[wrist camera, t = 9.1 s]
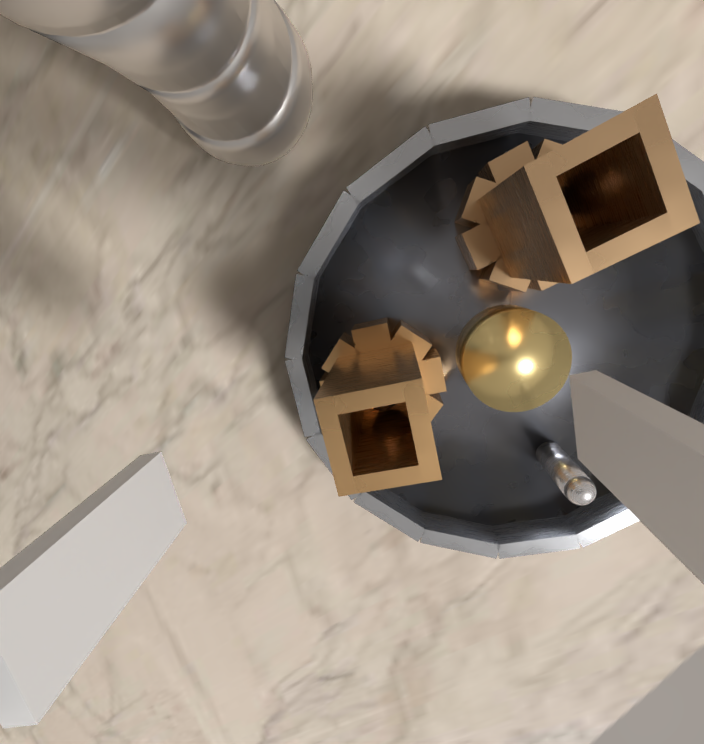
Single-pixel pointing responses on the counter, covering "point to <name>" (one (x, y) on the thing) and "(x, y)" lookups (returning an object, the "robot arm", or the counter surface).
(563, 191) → the tan square tube
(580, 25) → the counter surface
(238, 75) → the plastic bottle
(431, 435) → the hollow wooden square post
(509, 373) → the bowl
